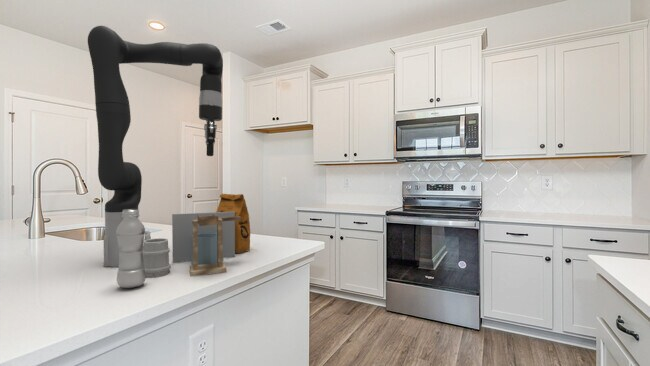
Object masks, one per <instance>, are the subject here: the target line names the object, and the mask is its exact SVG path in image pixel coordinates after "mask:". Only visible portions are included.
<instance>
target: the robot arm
mask: <svg viewBox="0 0 650 366" xmlns="http://www.w3.org/2000/svg"><path fill="white" fill-rule="evenodd" d="M87 47H88V50H89V52H88V53H89V55H90V56H89V57H90V61H91V66H92V72H93V73H92V74H93V86H94V87H93V88H94V99H95V100H94V103H95V113H96V114H95V116H96V122H97V137H98V161H97V162H98V163H97V164H98V165H97V177H98V181H99V183H100V185H101V186H102V187H103V188H104V189H105V190H108V191H113V192H114V193H113V196H112V198H111V199H109V200H108V201H107V202H105V204H104V229H105V231H104V235H103V267H104V268H105V267H108V268H109V267H110V268H111V267H112V268H114V267H115V268H116V267H118V268H119V245H118V240H117V234H116V231H117V227H118V226H119V224H120V223H121V222H122V221H123V218H124V217H122V215H123V210H125V209H139V206H140V203H141V200H142V184H143V183H142V181H143V178H142V172H141V170H140V168H139V166H138V165H137V164H135V163H133V162H130V161H129V162H127V161H124V154H123V144H124V140H125V138H126V136H127V133H128V131H129V129H130V126H131V122H132V120H131V116H132V115H131V106H130V101H129V96H128V93H127V89H126V87H125V85H124V82H123V81H124V80H123V79H122V75H121V71H120V64H122V65H123V64H143V63H144V64H147V63H148V64H163V65H172V66H181V67H190V66H192V65H193V64H196V65H199V64H200V65H201V66H202V71H201V74H202V75H201V76H200V81H199V84H200V85H199V98H198V118H199V120H203V121H206V123H204V125H203V131H204V138H205V145H206V156H207V157H213V156H214V153H215V152H214V147H215V142H216V140H215V139H216V137H217V130H218V125H217V124H215V123H216V122H221V121H222V119H223V96H222V88H223V87H222V86H223V83H222V78H223V70H224V68H223V67H224V59H223V56H222V53H221V51H220V49H219V48H218V47H217V46H216V45H214V44H210V43H206V42H205V43H204V42H201V43H189V44H187V43H180V42H171V41H161V42H154V43H146V44H145V43H136V42H135V43H134V42H131V41H127V40H124V39H123V38H122V37H121V36H120V35H119V34H118V33H117V32H116V31H115V30H113V29H111V28H110V27H108V26H106V25H97V26H94V27H93V28H92V29H91V30H90V31H89V33H88V36H87Z"/></svg>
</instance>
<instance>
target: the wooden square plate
mask: <svg viewBox="0 0 650 366" xmlns="http://www.w3.org/2000/svg"><path fill="white" fill-rule="evenodd" d="M218 218H221V219H222V220H223V221H234V220H241V217H240V216H235V217H218V216H216V215H215V214H213V216H200V215H199V214H198V223H199V225H200V226H206V225H218Z"/></svg>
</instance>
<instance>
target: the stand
mask: <svg viewBox="0 0 650 366" xmlns="http://www.w3.org/2000/svg"><path fill="white" fill-rule="evenodd" d="M192 224H193V266H192V265H189V276H190V277H195V276H203V275H204V276H205V275H211V274H220V273H221V274H222V273H227V266H226V265H225V262H224V261H223V259H224V258H223V220H222V219H221V218H218V225H217V263H212V264H203V265H198V221H197V220H193V221H192Z"/></svg>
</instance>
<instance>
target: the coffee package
mask: <svg viewBox="0 0 650 366" xmlns="http://www.w3.org/2000/svg"><path fill="white" fill-rule="evenodd" d="M219 198H220V200H219V203H218V206H217V208H216V212H235V216H240V217H241V220H235V254H241V253H242V252H243V253H246V252H249V251H250V250H251V225H250V215H249V210H248V207H247V204H246V202H247V201H246V199H245V195H244V194H243V193H240V194H232V193H231V194H230V193H221V194H220V195H219ZM243 253H242V254H243Z"/></svg>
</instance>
